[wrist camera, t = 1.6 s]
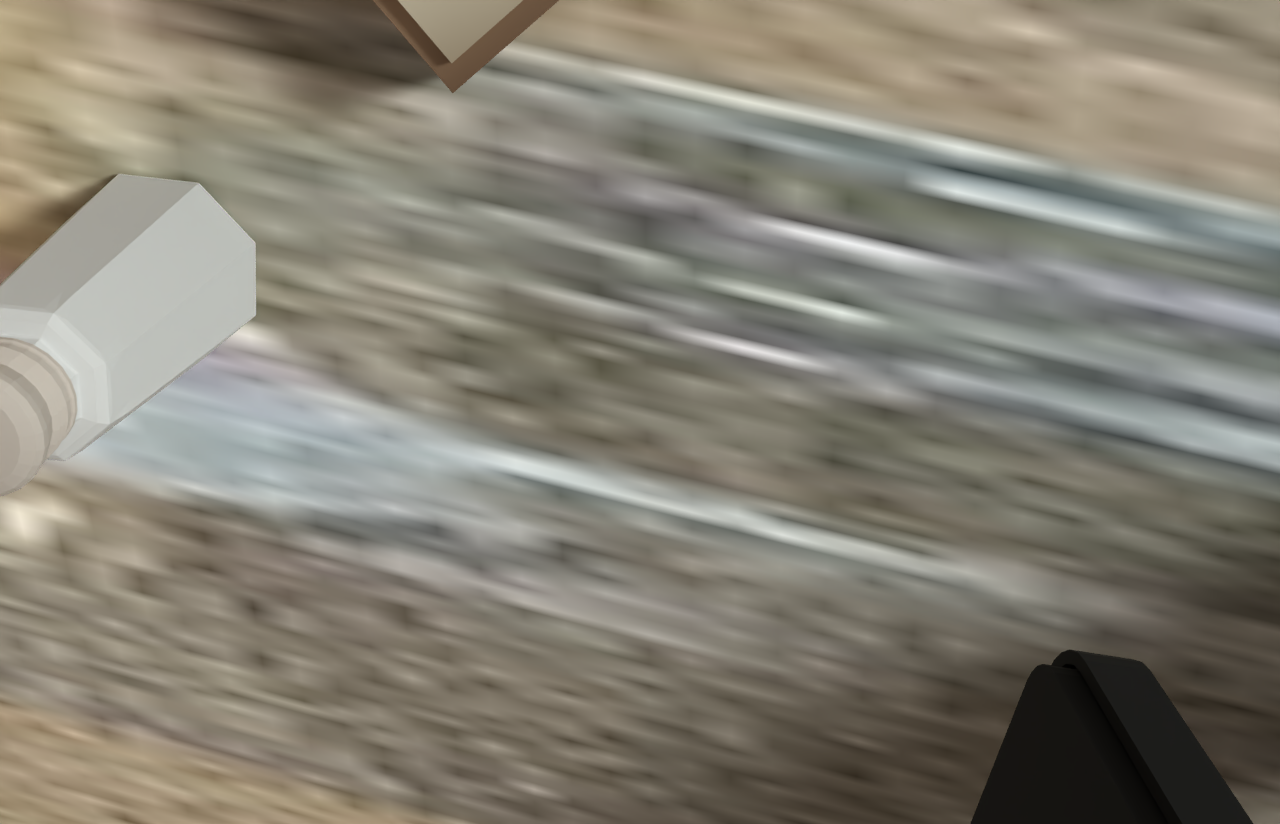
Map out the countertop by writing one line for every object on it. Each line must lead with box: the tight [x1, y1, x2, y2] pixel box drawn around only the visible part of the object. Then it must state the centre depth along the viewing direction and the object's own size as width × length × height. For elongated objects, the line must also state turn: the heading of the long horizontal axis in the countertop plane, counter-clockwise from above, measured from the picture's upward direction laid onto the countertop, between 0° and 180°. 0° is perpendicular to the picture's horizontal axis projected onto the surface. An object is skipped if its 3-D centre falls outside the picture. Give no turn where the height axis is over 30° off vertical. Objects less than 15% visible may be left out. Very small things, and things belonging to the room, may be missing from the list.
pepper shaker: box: [0, 174, 256, 496], centre depth 28 cm, size 5×5×11 cm
